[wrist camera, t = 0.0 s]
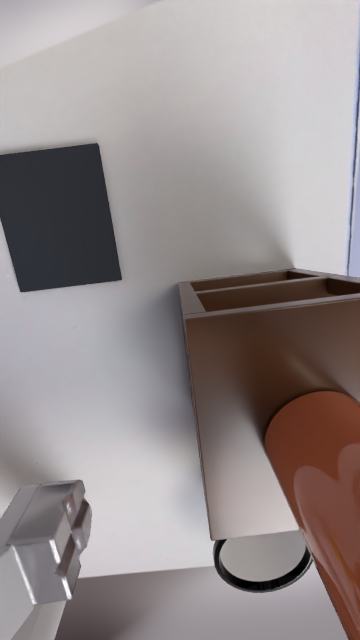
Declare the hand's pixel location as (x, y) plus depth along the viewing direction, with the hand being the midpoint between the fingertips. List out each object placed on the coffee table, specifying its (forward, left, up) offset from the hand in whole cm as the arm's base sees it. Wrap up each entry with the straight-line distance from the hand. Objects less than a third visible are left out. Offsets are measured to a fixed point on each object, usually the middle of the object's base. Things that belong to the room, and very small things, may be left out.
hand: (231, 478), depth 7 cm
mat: (-10, -11, -21) cm, 26 cm away
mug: (+23, +4, -22) cm, 32 cm away
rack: (+4, +5, -21) cm, 22 cm away
